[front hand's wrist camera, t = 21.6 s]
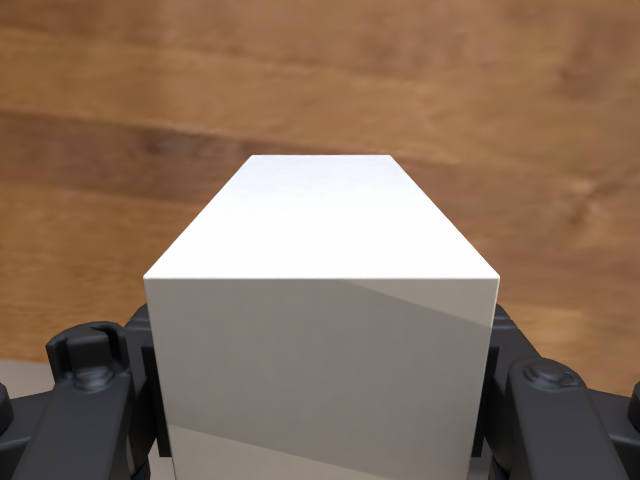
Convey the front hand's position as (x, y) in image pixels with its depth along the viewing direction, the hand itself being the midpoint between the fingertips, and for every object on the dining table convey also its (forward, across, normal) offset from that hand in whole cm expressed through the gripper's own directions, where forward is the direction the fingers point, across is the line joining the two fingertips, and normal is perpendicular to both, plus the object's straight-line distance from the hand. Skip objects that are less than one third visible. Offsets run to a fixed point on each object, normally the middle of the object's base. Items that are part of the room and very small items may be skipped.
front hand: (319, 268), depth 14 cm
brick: (+3, 0, 0) cm, 3 cm away
